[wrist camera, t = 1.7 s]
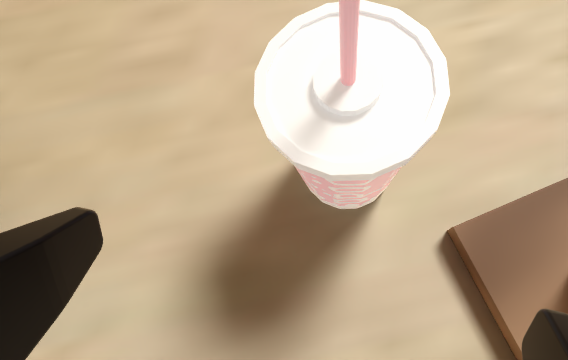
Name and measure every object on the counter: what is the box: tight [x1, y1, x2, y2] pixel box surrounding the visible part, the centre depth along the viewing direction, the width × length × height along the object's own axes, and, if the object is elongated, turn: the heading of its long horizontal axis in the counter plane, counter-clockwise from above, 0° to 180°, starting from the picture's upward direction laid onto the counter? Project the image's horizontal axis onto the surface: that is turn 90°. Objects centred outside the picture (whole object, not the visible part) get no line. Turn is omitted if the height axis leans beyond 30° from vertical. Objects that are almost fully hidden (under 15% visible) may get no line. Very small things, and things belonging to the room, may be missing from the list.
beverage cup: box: [254, 0, 450, 209], centre depth 15 cm, size 6×6×14 cm
